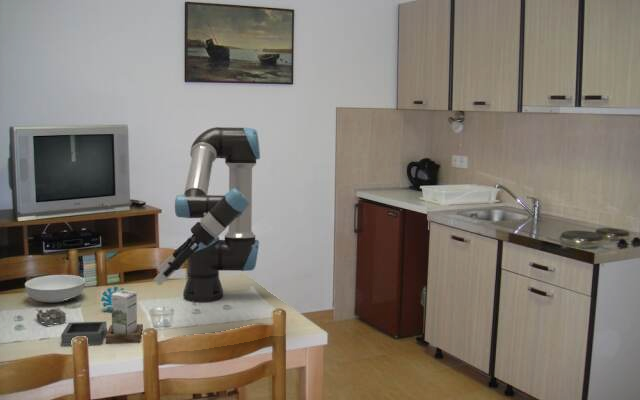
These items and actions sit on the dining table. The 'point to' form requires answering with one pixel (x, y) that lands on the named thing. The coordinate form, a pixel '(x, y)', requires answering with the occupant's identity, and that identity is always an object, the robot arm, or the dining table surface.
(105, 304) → the gear
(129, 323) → the syrup box
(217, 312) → the dining table surface
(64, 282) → the serving bowl
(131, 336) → the walnut collar
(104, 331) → the dark grey square tray
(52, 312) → the grey lumpy mound
